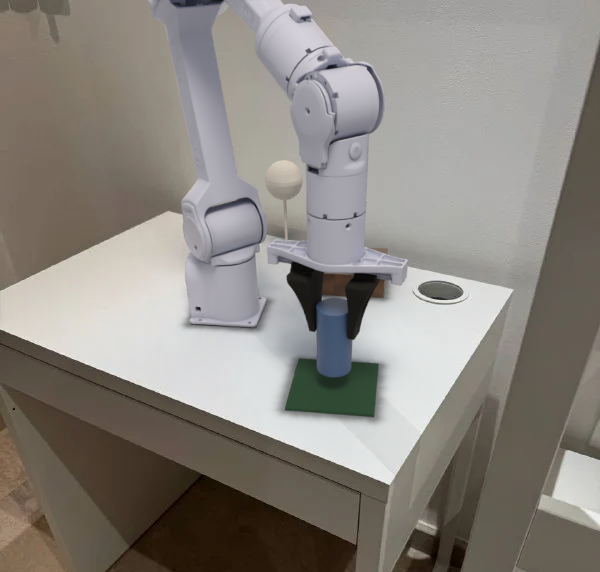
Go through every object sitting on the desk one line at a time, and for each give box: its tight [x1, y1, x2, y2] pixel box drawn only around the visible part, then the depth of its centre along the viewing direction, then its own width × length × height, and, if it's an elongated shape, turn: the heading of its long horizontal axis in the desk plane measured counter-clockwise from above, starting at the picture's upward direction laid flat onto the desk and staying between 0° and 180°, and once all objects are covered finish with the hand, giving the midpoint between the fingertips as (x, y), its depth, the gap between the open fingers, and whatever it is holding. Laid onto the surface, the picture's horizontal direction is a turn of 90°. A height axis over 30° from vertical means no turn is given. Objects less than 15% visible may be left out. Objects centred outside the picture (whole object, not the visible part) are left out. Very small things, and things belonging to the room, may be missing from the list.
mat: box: [284, 357, 380, 418], centre depth 70 cm, size 10×10×1 cm
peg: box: [315, 297, 353, 377], centre depth 66 cm, size 4×4×8 cm
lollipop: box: [264, 159, 304, 241], centre depth 96 cm, size 6×6×15 cm
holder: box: [322, 247, 389, 299], centre depth 90 cm, size 10×10×4 cm
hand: (334, 331), depth 65 cm, fingers closed on peg, 4 cm apart
